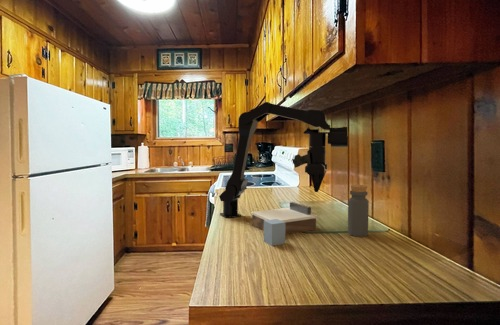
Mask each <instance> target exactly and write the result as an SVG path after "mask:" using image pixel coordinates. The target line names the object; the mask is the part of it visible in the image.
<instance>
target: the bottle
mask: <svg viewBox="0 0 500 325" xmlns="http://www.w3.org/2000/svg"><path fill="white" fill-rule="evenodd" d="M367 188H368V186H367V185H366V184H350V190H349V195H350V196H351V197H350V198H349V199H348V202H347V203H348V204H347V233H348V234H347V235H349V236H354V237H360V238H363V237H368V236H369V235H368V234H369V210H370V209H369V205H370V204H369V202H370V201H369V199H368V198H366V197H367V196H368V194H369V192H368V191H367Z"/></svg>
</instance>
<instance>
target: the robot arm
mask: <svg viewBox="0 0 500 325" xmlns="http://www.w3.org/2000/svg"><path fill="white" fill-rule="evenodd" d="M269 115H272V116H273V115H274V116H279V117H282V118H287V119H291V120H296V121H299V122H301V123H304V124H306V125H308V127H307V128H306V129H305V130H304V131H303V134H304V135H308V149H307V150H306V151H307V152H306V154H304V155H301V154H300V153H299V154H295V155H294V157H293V158H292V160H291V161H292V164H293V166H294V169H296V168H299V167H300V166H303V165H305V164H306V165H305V166H304V173H305V174H307V175H308V176H310V178H311V182H312V187H313V190H314V193H318V192H319V191H320V188H321V185H322V184H323V181H324V178H325V175H326V173H327V170H328V163H327V162H326V157H327V156H326V153H327V149H326V146H327V145H330V148H342V147H343V148H348V147H349V136H348V131H349V130H348V126H342V127H331V125H330V124H329V123H328V122H327V116H326V114H325V113H324V111H322V110H320V109H298V108H293V107H290V106H286V105H280V104H276V103H271V102H269V101H264V102H263V103H261V104H260V105H258V106H256V107H254V108H252V109H250V110H249V111H245V112H244V111H243V112H242V113H241V114H239V117H238V120H237V122H238V124H237V125H238V126H237V127H238V128H237V129H238V134H239V135H238V136H239V137H238V142H237V148H236V153H235V157H234V162H233V163H234V164H233V167H232V173H231V174H230V176H229V178H228V180H227V182H226V185H225V188H224V189H225V190H224V191H223V192H221V194H219V196H218V197H219V200H220V202H222V212H220V213H219V215H221V216H222V217H224V218H235V217H242V213H241V214H240V213H239V208H238V207H239V199H240V198H241V195H242V194H243V193H244V192H245V190H247V189H248V188H247V184H248V183H249V179H248V178H246V177H245V170H246V166H247V160H248V156H249V150H250V146H251V140H252V137H253V135H254V133H255V132H256V130H257V127H258V125H259V123H260V122H261V121H263V120H264V119H265V118H267V116H269ZM309 126H311V127H314V128H315V129H313V128H312V129H311V128H310V127H309ZM320 129H322V130H324V131H320ZM326 142H327V143H326ZM326 144H327V145H326Z"/></svg>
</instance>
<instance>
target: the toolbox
mask: <svg viewBox="0 0 500 325" xmlns="http://www.w3.org/2000/svg"><path fill="white" fill-rule="evenodd" d="M264 221H265V220H263V219H261V218H259V217H257V216H254V215H252V214H251V225H252V226H253V227H255V228H258V229H259V230H261V231H263V232H264ZM315 230H317V218H314V219H307V220H300V221H292V222H285V235H288V234H294V233H301V232H307V231H315Z"/></svg>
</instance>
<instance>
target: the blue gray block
mask: <svg viewBox="0 0 500 325" xmlns="http://www.w3.org/2000/svg"><path fill="white" fill-rule="evenodd" d="M263 243H265V244H268V245H269V246H271V247H274V246H280V245H285V244H286V234H285V222H283V221H281V220H278V219H272V220H265V221H264V231H263Z"/></svg>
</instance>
